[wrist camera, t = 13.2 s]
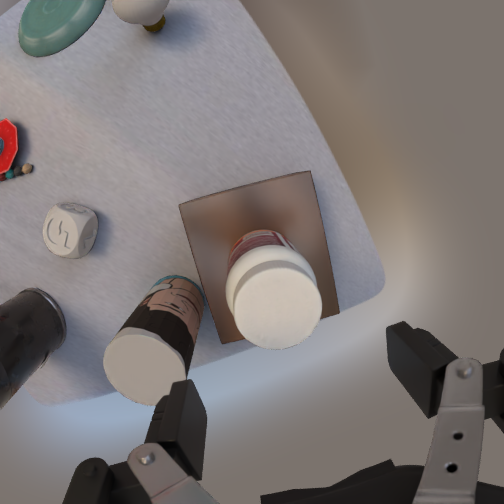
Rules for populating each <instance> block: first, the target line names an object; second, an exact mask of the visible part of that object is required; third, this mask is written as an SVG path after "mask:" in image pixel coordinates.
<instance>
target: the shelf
mask: <svg viewBox="0 0 504 504" xmlns="http://www.w3.org/2000/svg"><path fill="white" fill-rule="evenodd" d="M179 209H180V213H181V216H182V220H183V223H184V227H185V230H186V234H187V237H188V241H189V244H190V247H191V251H192V254H193V257H194V260H195V264H196V267H197V270H198V273H199V277H200V280H201V283H202V286H203V289H204V292H205V295H206V299H207V302H208V305H209V308H210V311H211V314H212V317H213V320H214V323H215V326H216V329H217V332H218V335H219V338H220V340H221V343H222V344H226V343H230V342H234V341H239V340H243V339H246V338H245V337H244V336H243V335H242V334H241V333H240V331H239V329H238V328H237V326H236V323H235V320H234V316H233V314H232V313H231V311H230V309H229V306H228V303H227V299H226V292H225V291H226V281H227V271H228V260H229V255H230V252H231V250H232V248H233V246H234V245H235V244H236V242H237V241H238V240H239V239H240V238H242V237H243V236H244V235H246V234H248V233H250V232H253V231H256V230H271V231H275V232H277V233H279V234H281V235H283V236H284V237H285V238H287V239H288V240H289V241H290V242H291V243H292V244H293V246H294V247H295V248H296V249H297V250H298V251H299V252H300V254H301V255H302V256H303V257H304V258H305V259H306V261H307V262H308V263H309V265H310V266H311V268H312V270H313V272H314V275H315V278H316V283H317V288H318V290H319V293H320V295H321V300H322V313H321V317H320V319H322V318H326V317H329V316H333V315H336V314H339V313H340V311H339V305H338V299H337V293H336V288H335V282H334V277H333V272H332V266H331V261H330V256H329V251H328V246H327V241H326V236H325V232H324V227H323V222H322V218H321V213H320V209H319V205H318V200H317V196H316V192H315V187H314V183H313V179H312V175H311V171H303V172H296V173H292V174H288V175H283V176H279V177H275V178H271V179H267V180H263V181H259V182H255V183H251V184H247V185H243V186H240V187H236V188H232V189H228V190H225V191H221V192H217V193H214V194H210V195H207V196H203V197H200V198H196V199H193V200H189V201H187V202H184V203H182V204H179Z"/></svg>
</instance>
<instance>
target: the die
mask: <svg viewBox="0 0 504 504" xmlns="http://www.w3.org/2000/svg"><path fill="white" fill-rule="evenodd" d="M97 230H98V220H97V217H96V215H95V213H94V212H93V211H92V210H90V209H88V208H86V207H83V206H80V205H76V204H72V203H57V204H56V205H55V206H53V207H52V208H51V210H50V211H49V213H48V214H47V217H46V219H45V222H44V226H43V238H44V241H45V244H46V246H47V248H48V249H49V250H50V251H51V252H52V253H54V254H56V255H58V256H61V257H64V258H70V259H78V258H82V257H84V256H86V255H87V254H88V252H89V251H90V249H91V248H92V246H93V244H94V241H95V238H96V235H97Z"/></svg>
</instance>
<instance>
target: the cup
mask: <svg viewBox="0 0 504 504" xmlns="http://www.w3.org/2000/svg"><path fill="white" fill-rule="evenodd" d="M204 306H205V303H204V296H203V294H202V292H201V290H200V288H199V287H198V286H197V285H196V284H195V283H194V282H193V281H191V280H189V279H187V278H186V277H182V276H177V275H175V276H167V277H165V278H162V279H160V280H159V281H158V282H157V283H156V284H155V285H154V286H153V287H152V288H151V290H150V291H149V292H148V293H147V295H146V296H145V297H144V299H143V300H142V301H141V302H140V304H139V305H138V306H137V308H136V309H135V310H134V312H133V313H132V314H131V316H130V317H129V318H128V319H127V321H126V322H125V323H124V325H123V326H122V327H121V329H120V330H119V331H118V333H117V334H116V336H115V337H114V338H113V340H112V341H111V342H110V344H109V345H108V347H107V349H106V351H105V353H104V359H103V367H104V370H105V373H106V376H107V378H108V380H109V381H110V382H111V384H112V385H113V387H114V388H115V389H116V390H117V391H118V392H120V393H121V394H122V395H123V396H125V397H126V398H128V399H130V400H132V401H134V402H136V403H140V404H144V405H150V406H156V404H157V403H158V402H159V400H160V399H161V398H162V397H163V396H164V395H169V393H170V389H171V386H172V383H173V382H177V381H183V380H187V375H188V371H189V367H190V363H191V359H192V355H193V351H194V347H195V343H196V339H197V335H198V331H199V327H200V323H201V320H202V316H203V311H204Z"/></svg>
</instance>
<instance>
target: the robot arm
mask: <svg viewBox="0 0 504 504" xmlns="http://www.w3.org/2000/svg"><path fill="white" fill-rule="evenodd" d="M65 336H66V324H65V320H64V317H63V314H62V312H61V310H60V308H59V307H58V305H57V304H56V303H55V301H54V300H53V299H52V298H51V297H50V296H49V295H47V294H46V293H45V292H43V291H41V290H38V289H34V288H29V289H26V290H24V291H22V292H20V293H19V294H18V295H17V296H15V297H13V298H12V299H10V300H8V301H7V302H5V303H4V304H2V305H0V410H1V409H2V408H3V407H4V405H5V404H6V403H7V402H8V401H9V400H10V399H11V397H12V396H13V395H14V394H15V393H16V392H17V390H19V388H20V387H21V386H22V385H23V384H24V383H25V382H26V381H27V380H28V379H29V377H30V376H31V375H32V374H33V373H34V372H35V371H36V370H37V369H38V368H39V367H40V366H41V365H42V363H43V362H44V361H45V362H44V364H45V363H46V361H47V359H48V357H49V356H50V355H51V354H52V353H53V352H54V351H55V350H57V349H58V348H59V347H60V346H61V345H62V343H63V342H64V340H65ZM386 338H387V353H388V362H389V366H390V368H391V370H392V372H393V373H394V374H395V376H396V377H397V378H398V380H399V381H400V382H401V384H402V385H403V386H404V387H405V389H406V390H407V392H408V393H409V394H410V395H411V397H412V398H413V399H414V401H415V402H416V403H417V405H418V406H419V407H420V409H421V410H422V411H423V413H424V414H425V415H426V417H427V418H428V419H429V418H431V417H433V416H435V415H437V414H438V415H437V420H436V425H435V429H434V433H433V438H432V442H431V446H430V449H429V454H428V457H427V461H426V464H425V466H420V465H402V466H394V464H393V462H392V460H391V459H389V460H387V461H384V462H382V463H379V464H377V465H374V466H371V467H369V468H365V469H363V470H360V471H358V472H357V473H355V474H353V475H351V476H349V477H347V478H346V479H344V480H342V481H340V482H338V483H336V484H334V485H332V486H330V487H326V488H310V489H292V490H287V491H283V492H278V493H272V494H267V495H262V496H260V498H261V504H504V487H500V486H496V485H491V484H487V483H483V482H479V481H477V479H478V472H479V466H480V459H481V451H482V441H483V429H484V420H485V419H488V418H492V420H493V421H494V422H495V423H496V424H497V426H498V427H499V428H500V429H501V431H502V432H503V433H504V349H503V350H502V351H501V353H500V359H499V360H498V361H494V362H491V363H487V364H483V365H482V364H481V363H480V362H479V361H478V360H476V359H473V358H468V357H464V358H458V357H457V356H456V355H455V354H454V353H453V352H451V351H450V350H449V349H448V348H447V347H446V346H445V345H444V344H442V343H441V342H440V341H439V340H438V339H437V338H436V339H435V337H434V336H433V335H432V334H431V333H429V332H428V331H426V330H423V329H420V328H416V329H413V328H412V327H411V326H409V325H408V324H407V323H406V322H405V321H402V322H399V323H397V324H394V325H391V326H388V327H387V328H386ZM44 364H43V365H42V367H43V366H44ZM42 367H41V368H42ZM206 428H207V415H206V410H205V407H204V405H203V403H202V401H201V398H200V396H199V394H198V392H197V389H196V387H195V385H194V383H193V381H192V380H191V379H188V380H183V381H177V382H173V383H172V386H171V389H170V393H169V395H164V396H163V397H162V398H161V399H160V400H159V402H158V403H157V404H156V408H155V410H154V414H153V416H152V421H151V423H150V426H149V429H148V432H147V436H146V439H145V442H144V444H142V445H140V446H138V447H136V448H135V449H133V450H132V451H131V453H130V454H129V456H128V459H127V461H125V462H121V463H118V464H114V465H110V466H108V464H107V463H106V462H105V461H104V460H103V459H101V458H89V459H87V460H85V461H83V462H81V463H80V464H79V465H78V466H77V468H76V470H75V472H74V475H73V477H72V480H71V482H70V485H69V487H68V490H67V493H66V495H65V498H64V501H63V503H62V504H219V503H218V502H217V501H216V500H215V499H214V498H213V497H212V496H211V495H210V494H209V493H208V492H207V491H206V490H205V489H204V488H203V487H202V486H201V485H200V484H199V483H198V482H197V481H199V480H202V470H203V459H204V449H205V438H206Z"/></svg>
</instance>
